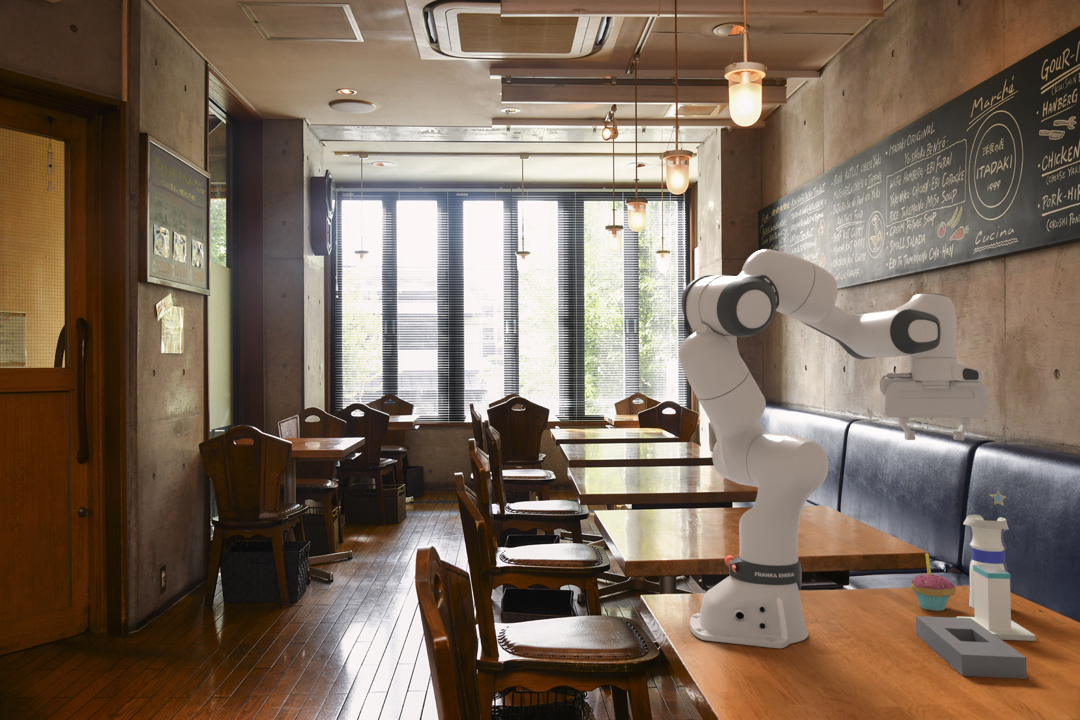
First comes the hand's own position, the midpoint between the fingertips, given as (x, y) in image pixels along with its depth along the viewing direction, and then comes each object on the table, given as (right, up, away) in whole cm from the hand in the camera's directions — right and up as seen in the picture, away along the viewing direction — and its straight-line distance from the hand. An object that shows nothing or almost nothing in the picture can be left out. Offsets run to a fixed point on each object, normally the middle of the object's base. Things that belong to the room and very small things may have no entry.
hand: (934, 439), depth 149 cm
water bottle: (+16, -38, +9) cm, 42 cm away
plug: (+8, -36, -6) cm, 37 cm away
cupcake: (+4, -38, +8) cm, 39 cm away
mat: (+8, -37, -6) cm, 38 cm away
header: (-4, -37, -19) cm, 41 cm away
